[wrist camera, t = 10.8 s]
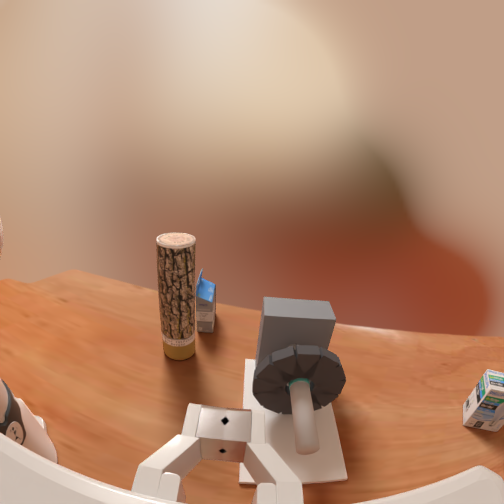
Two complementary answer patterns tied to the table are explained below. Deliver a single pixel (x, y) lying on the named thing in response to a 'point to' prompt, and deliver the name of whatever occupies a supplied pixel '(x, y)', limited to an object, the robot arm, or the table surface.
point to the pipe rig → (297, 393)
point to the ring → (293, 367)
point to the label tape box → (205, 305)
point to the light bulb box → (486, 403)
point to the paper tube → (177, 293)
